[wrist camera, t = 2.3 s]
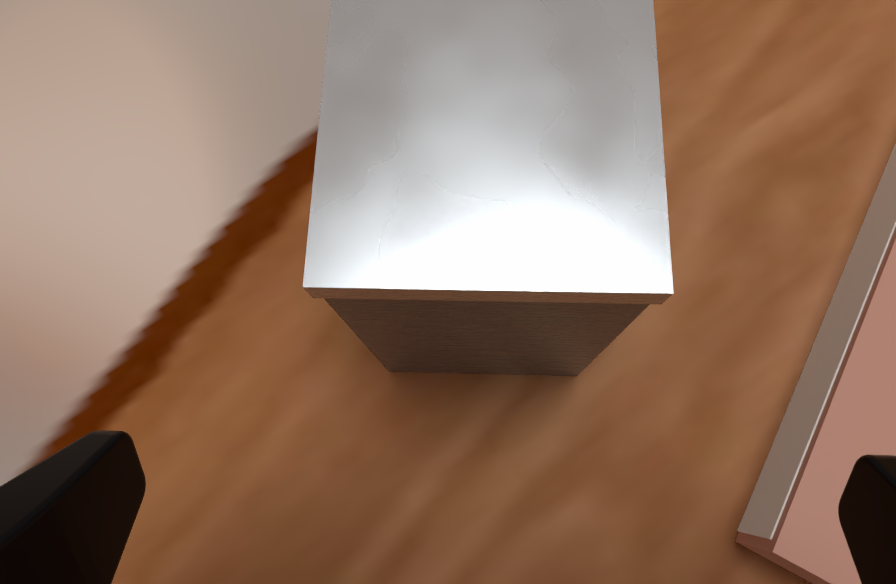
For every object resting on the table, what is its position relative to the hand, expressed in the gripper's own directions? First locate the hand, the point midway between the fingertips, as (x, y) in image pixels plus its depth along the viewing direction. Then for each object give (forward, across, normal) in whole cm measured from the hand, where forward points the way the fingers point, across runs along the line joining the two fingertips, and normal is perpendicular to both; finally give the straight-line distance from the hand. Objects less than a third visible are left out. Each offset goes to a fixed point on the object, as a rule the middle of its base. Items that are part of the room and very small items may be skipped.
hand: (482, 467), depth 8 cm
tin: (+13, 0, +4) cm, 13 cm away
